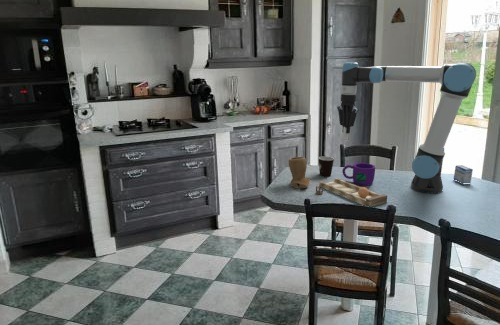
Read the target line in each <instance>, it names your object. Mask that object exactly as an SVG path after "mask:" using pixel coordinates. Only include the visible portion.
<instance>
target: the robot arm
mask: <svg viewBox="0 0 500 325" xmlns="http://www.w3.org/2000/svg"><path fill="white" fill-rule="evenodd" d="M341 70H342V71H341V90H340V93H341V94H340V105H337V106H336V107H337V108H336V109H337V111H338V120H339V126H340V125H341V126H342V140H346V141H347V140H349V138H350V137H349V136H350V133H351V132H350V131H351V127H354V126H355V121H356V118H357V114H358V112H359V108H357V107H356V104H355V103H356V101H357V88H358V87H357V86H358V83H368V84H380V83H381V82H401V83H403V82H404V83H407V82H408V83H432V84H433V83H436V84H437V83H439V84H440V85H441V87H440V90H439V92H440V93H441V96H440V99H439V102H438V104H437V108H436V110H435V113H434V116H433V118H432V122H431V124H430V127H429V129H428V132H427V134H426V138H425V140H424V143H423V144H420V145H419V146H418V149H417V152H416V154H415V157H414V159H413V160H412V163H411V170H412V172H413V173H414V176H413V178H412V180H411V183H410V187H411V189H412V190H414V191H417V192H420V193H425V194H439V193H438V192H440V193H442V192H443V191H442V190H444V189H443V188H444V185H443V181H442V169H443V163H444V162H443V161H444V157H445V155H446V153H445V146H446V144H447V140H448V138H449V135H450V133H451V131H452V128H453V125H454V123H455V120H456V117H457V114H458V112H459V110H460V107H461V105H462V102H463V100H465V99H467V98H468V97H469V94H470V92H471V89H472V87H473V84H474V82H475V81H476V77H477V70H476V68H475V67H474V65H473V64H471V63H468V62H464V61H463V62H462V61H461V62H458V63H450V64H449V63H448V64H447V63H446V64H443V65H442V66H440V65H439V66H435V65H434V66H433V65H432V66H431V65H430V66H427V65H426V66H425V65H424V66H422V65H419V66H417V65H416V66H415V65H414V66H412V65H397V66H395V65H391V66H390V65H374V66H359V63H358V62H345V63H342V69H341ZM441 191H442V192H441Z"/></svg>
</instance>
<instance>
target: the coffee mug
mask: <svg viewBox="0 0 500 325" xmlns="http://www.w3.org/2000/svg"><path fill="white" fill-rule="evenodd" d="M334 159H335V158H334V157H332V156H318V167H319V169H318V170H319V176H320V177H324V178H329V177H331V176H332V172H333V171H332V170H333V166H334V161H335V160H334Z"/></svg>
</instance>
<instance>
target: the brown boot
mask: <svg viewBox="0 0 500 325" xmlns="http://www.w3.org/2000/svg"><path fill="white" fill-rule="evenodd" d="M288 167H289V170H290V174H291V177H292V179H291V181H290V183H289V185H290V186H291V187H293V188H295V189H299V190H300V189H306V188H308V187H309V185H310V182H311V179H310V177H309V178H308V177H306V172H307V168H308V166H307V159H306V157H304V156H294V157H290V158H288Z"/></svg>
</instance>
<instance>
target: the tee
mask: <svg viewBox="0 0 500 325" xmlns="http://www.w3.org/2000/svg"><path fill="white" fill-rule="evenodd" d="M323 193H324V188H323V187H320V186H319V185H316V186H315V194H316V195H319V196H320V195H323Z"/></svg>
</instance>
